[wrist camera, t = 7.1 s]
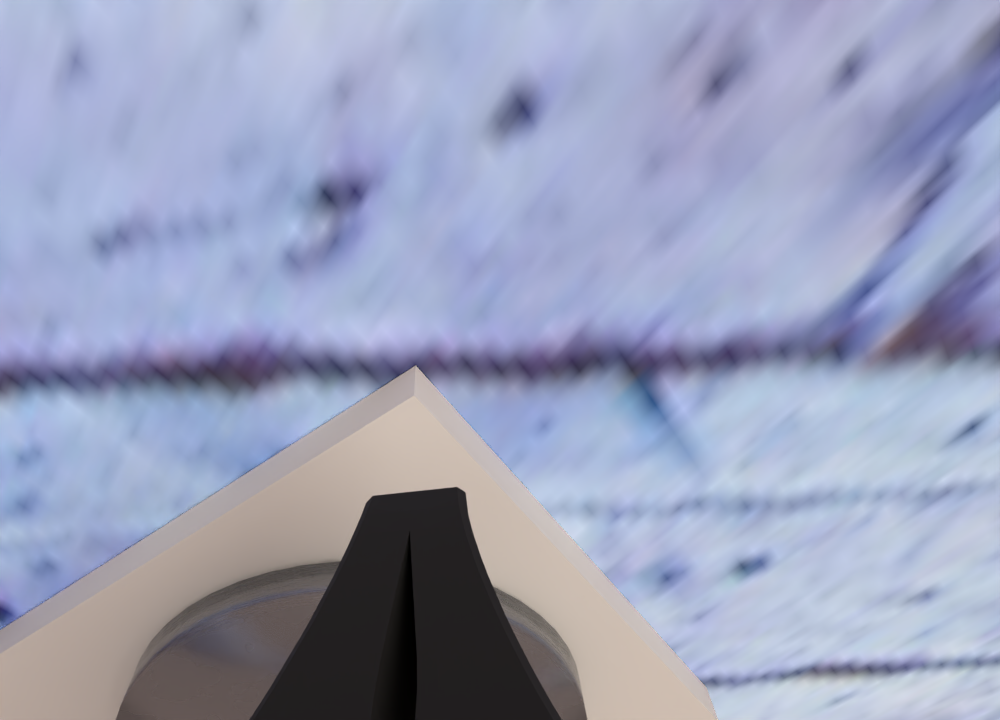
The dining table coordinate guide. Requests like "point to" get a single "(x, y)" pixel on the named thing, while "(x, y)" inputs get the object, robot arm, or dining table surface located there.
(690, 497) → the dining table surface
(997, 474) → the dining table surface
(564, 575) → the plate
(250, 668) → the rotary indexing table
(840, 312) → the dining table surface
